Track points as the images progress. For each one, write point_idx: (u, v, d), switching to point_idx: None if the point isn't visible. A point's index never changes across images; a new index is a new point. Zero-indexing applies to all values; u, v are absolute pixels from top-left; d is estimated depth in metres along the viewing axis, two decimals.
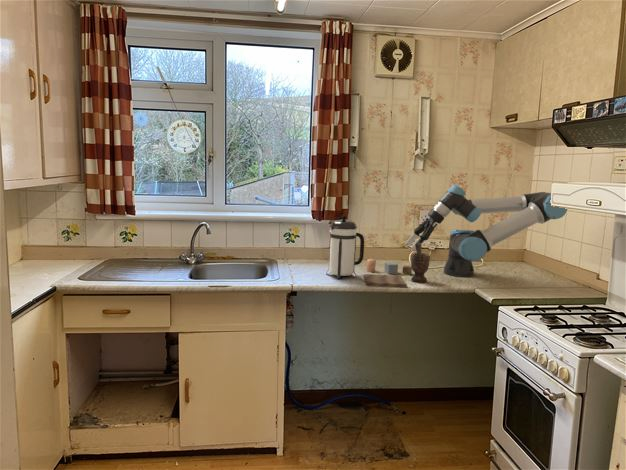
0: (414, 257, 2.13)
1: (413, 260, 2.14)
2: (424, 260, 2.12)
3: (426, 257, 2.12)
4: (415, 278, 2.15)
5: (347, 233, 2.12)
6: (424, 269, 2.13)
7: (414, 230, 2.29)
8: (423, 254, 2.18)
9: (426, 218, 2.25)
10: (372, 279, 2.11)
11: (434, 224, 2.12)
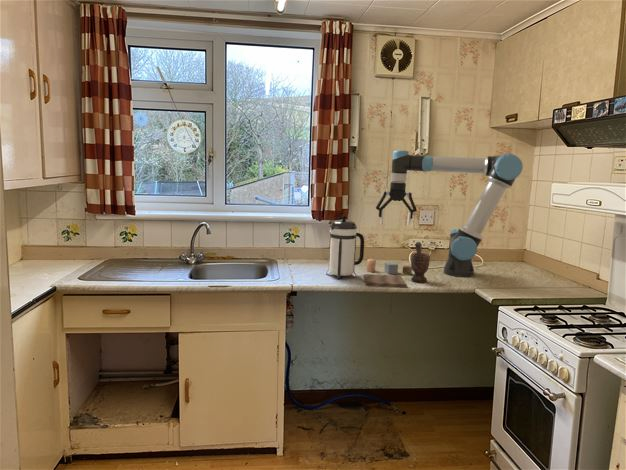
0: (414, 257, 2.13)
1: (413, 260, 2.14)
2: (424, 260, 2.12)
3: (426, 257, 2.12)
4: (415, 278, 2.15)
5: (347, 233, 2.12)
6: (424, 269, 2.13)
7: None
8: (423, 254, 2.18)
9: (408, 193, 2.26)
10: (372, 279, 2.11)
11: (383, 193, 2.25)
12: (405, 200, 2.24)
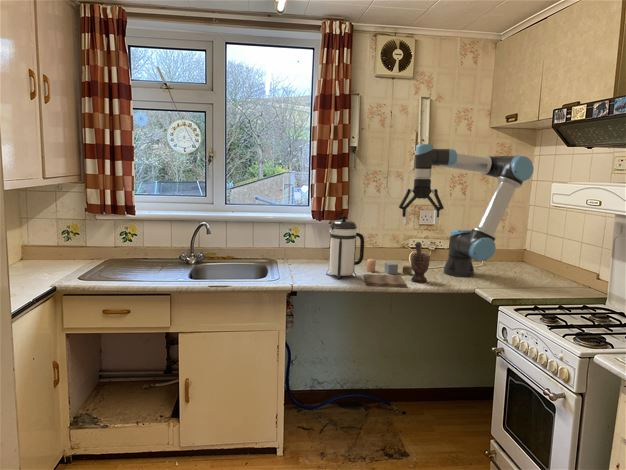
0: (414, 257, 2.13)
1: (413, 260, 2.14)
2: (424, 260, 2.12)
3: (426, 257, 2.12)
4: (415, 278, 2.15)
5: (347, 233, 2.12)
6: (424, 269, 2.13)
7: None
8: (423, 254, 2.18)
9: None
10: (372, 279, 2.11)
11: (407, 190, 2.09)
12: None
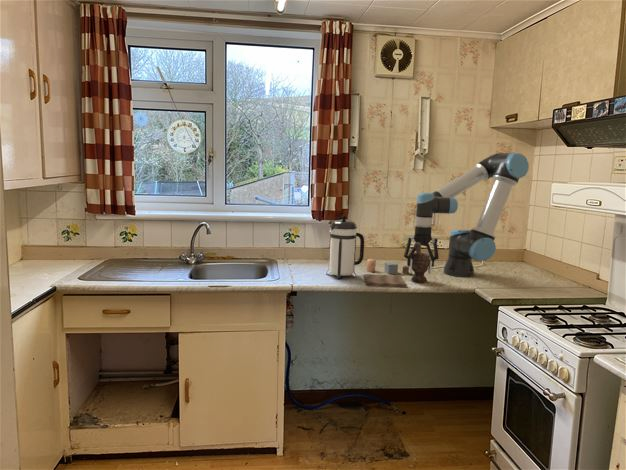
0: (414, 257, 2.13)
1: (413, 260, 2.14)
2: (424, 260, 2.12)
3: (426, 257, 2.12)
4: (415, 278, 2.15)
5: (347, 233, 2.12)
6: (424, 269, 2.13)
7: (435, 257, 2.15)
8: (423, 254, 2.18)
9: None
10: (372, 279, 2.11)
11: (408, 239, 2.13)
12: (429, 246, 2.12)
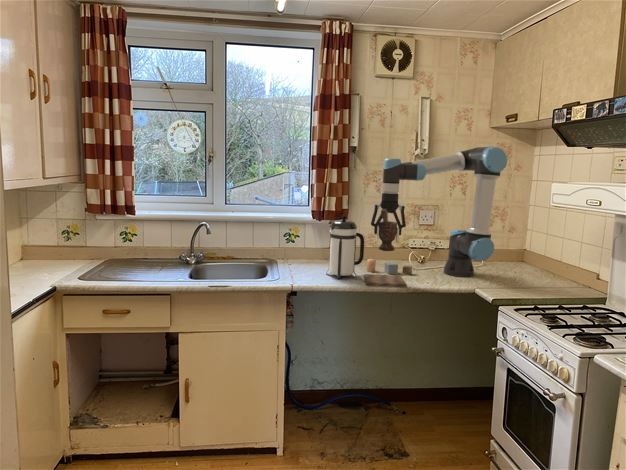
0: (380, 225, 2.08)
1: (380, 228, 2.09)
2: (391, 227, 2.07)
3: (393, 224, 2.07)
4: (382, 246, 2.10)
5: (347, 233, 2.12)
6: (391, 237, 2.08)
7: None
8: (390, 222, 2.13)
9: (401, 206, 2.09)
10: (372, 279, 2.11)
11: (374, 206, 2.08)
12: (396, 213, 2.06)
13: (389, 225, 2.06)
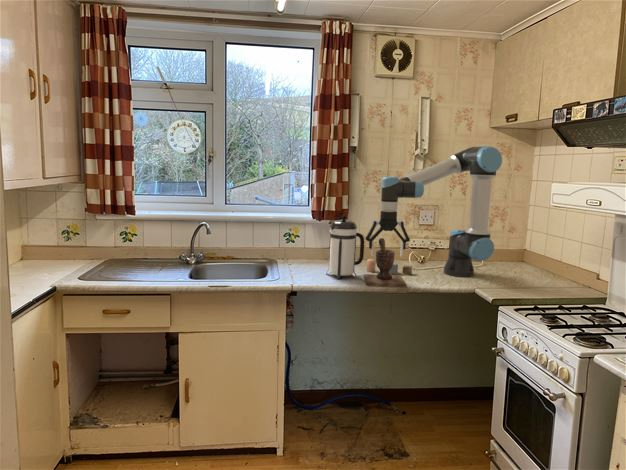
0: (378, 254, 2.10)
1: (377, 257, 2.11)
2: (388, 256, 2.09)
3: (390, 253, 2.09)
4: (380, 275, 2.12)
5: (347, 233, 2.12)
6: (388, 266, 2.10)
7: None
8: (388, 250, 2.15)
9: None
10: (372, 279, 2.11)
11: (373, 222, 2.09)
12: (397, 230, 2.08)
13: (387, 254, 2.08)
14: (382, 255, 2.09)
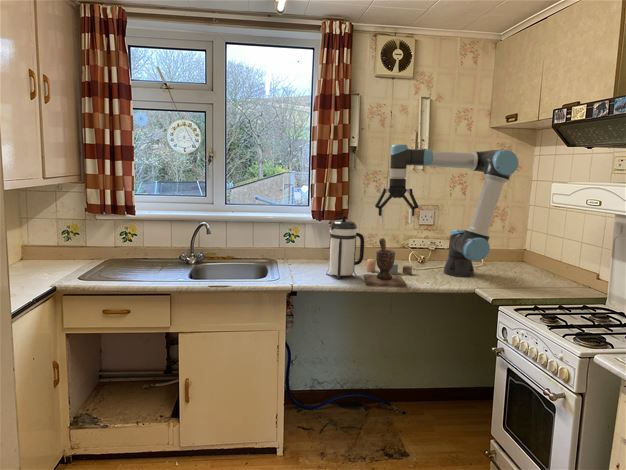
0: (379, 254, 2.10)
1: (378, 257, 2.11)
2: (389, 257, 2.09)
3: (391, 254, 2.09)
4: (380, 275, 2.12)
5: (347, 233, 2.12)
6: (389, 266, 2.10)
7: None
8: (389, 251, 2.15)
9: None
10: (372, 279, 2.11)
11: (382, 190, 2.13)
12: (406, 197, 2.12)
13: (387, 254, 2.08)
14: (382, 255, 2.09)
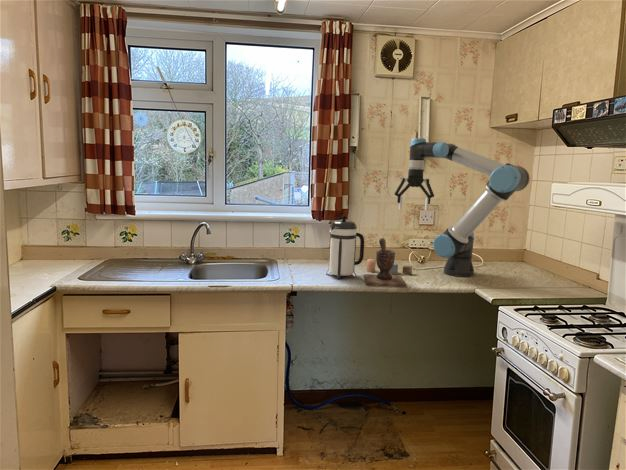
0: (379, 254, 2.10)
1: (378, 257, 2.11)
2: (388, 257, 2.09)
3: (391, 254, 2.09)
4: (380, 275, 2.12)
5: (347, 233, 2.12)
6: (389, 266, 2.10)
7: None
8: (389, 251, 2.15)
9: None
10: (372, 279, 2.11)
11: (402, 179, 2.34)
12: None
13: (387, 254, 2.08)
14: (382, 255, 2.09)
